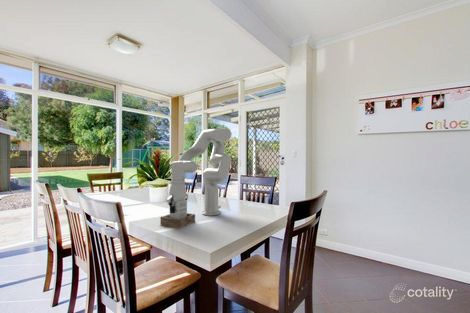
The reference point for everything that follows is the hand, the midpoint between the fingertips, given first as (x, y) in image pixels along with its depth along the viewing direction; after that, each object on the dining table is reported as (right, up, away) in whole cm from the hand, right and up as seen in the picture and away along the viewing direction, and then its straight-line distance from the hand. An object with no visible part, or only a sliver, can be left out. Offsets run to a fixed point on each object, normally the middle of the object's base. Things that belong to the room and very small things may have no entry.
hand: (178, 210), depth 130 cm
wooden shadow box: (0, -7, 0) cm, 7 cm away
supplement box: (0, -6, 0) cm, 7 cm away
